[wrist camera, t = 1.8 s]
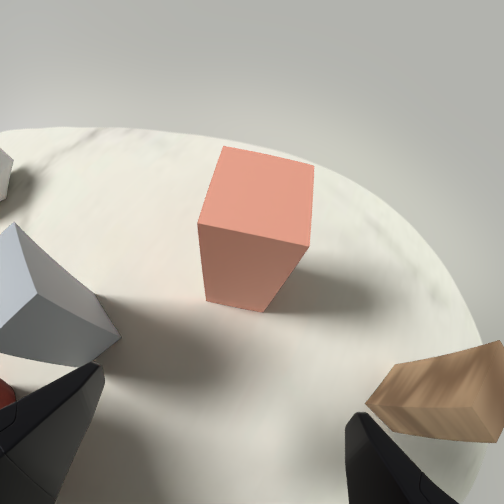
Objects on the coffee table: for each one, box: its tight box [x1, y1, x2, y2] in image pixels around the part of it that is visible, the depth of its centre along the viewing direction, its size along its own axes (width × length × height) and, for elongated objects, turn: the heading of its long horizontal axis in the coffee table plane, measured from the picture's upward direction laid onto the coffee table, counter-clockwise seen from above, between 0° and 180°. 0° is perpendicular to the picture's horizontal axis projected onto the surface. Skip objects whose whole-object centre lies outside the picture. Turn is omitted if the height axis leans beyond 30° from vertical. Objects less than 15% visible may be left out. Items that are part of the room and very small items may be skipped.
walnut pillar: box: [365, 340, 504, 443], centre depth 15 cm, size 5×5×13 cm
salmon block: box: [197, 146, 314, 312], centre depth 19 cm, size 5×5×13 cm
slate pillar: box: [0, 222, 122, 367], centre depth 15 cm, size 5×5×13 cm
